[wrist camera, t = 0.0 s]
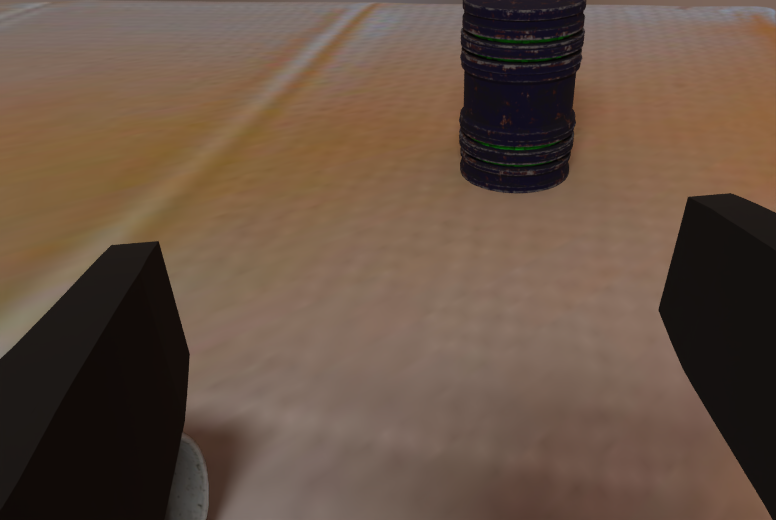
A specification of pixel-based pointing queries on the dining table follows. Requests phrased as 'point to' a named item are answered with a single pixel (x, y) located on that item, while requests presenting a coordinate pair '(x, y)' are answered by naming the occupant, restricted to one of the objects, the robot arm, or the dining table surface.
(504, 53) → the storage jar
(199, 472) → the grey cylinder
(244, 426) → the dining table surface
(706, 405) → the robot arm
